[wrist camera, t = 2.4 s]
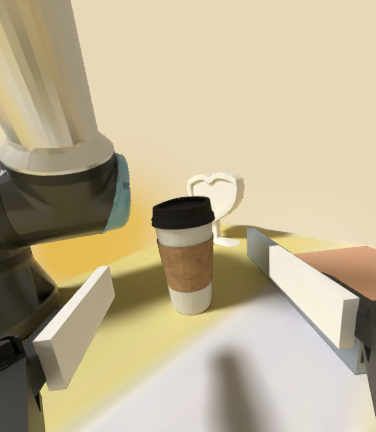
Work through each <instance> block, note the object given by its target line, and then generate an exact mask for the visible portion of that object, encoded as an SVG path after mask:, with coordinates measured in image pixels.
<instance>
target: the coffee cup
mask: <svg viewBox="0 0 376 432" xmlns="http://www.w3.org/2000/svg"><path fill="white" fill-rule="evenodd" d="M214 220H215V216H214V211H212V207H211V202H210V198H209V197H205V196H188V197H180V198H175V199H171V200H168V201H165V202H162V203H160V204H158V205H156V206H154V207H153V217H152V220H151V221H152V226H153V227H155V228H156V233H157V237H158V238H157V244H158V248H159V252H160V256H161V260H162V264H163V268H164V272H165V277H166V281H167V284H168V288H169V293H170V297H171V302H172V305H173V307H174V309H175V310H176V311H177V312H179V313H181V314H185V315H195V314H199V313H202V312H203V311H205V310H206V309H207V308H208V307H209V306H210V304H211V300H212V268H213V240H214V234H213V232H212V222H213V221H214Z"/></svg>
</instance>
